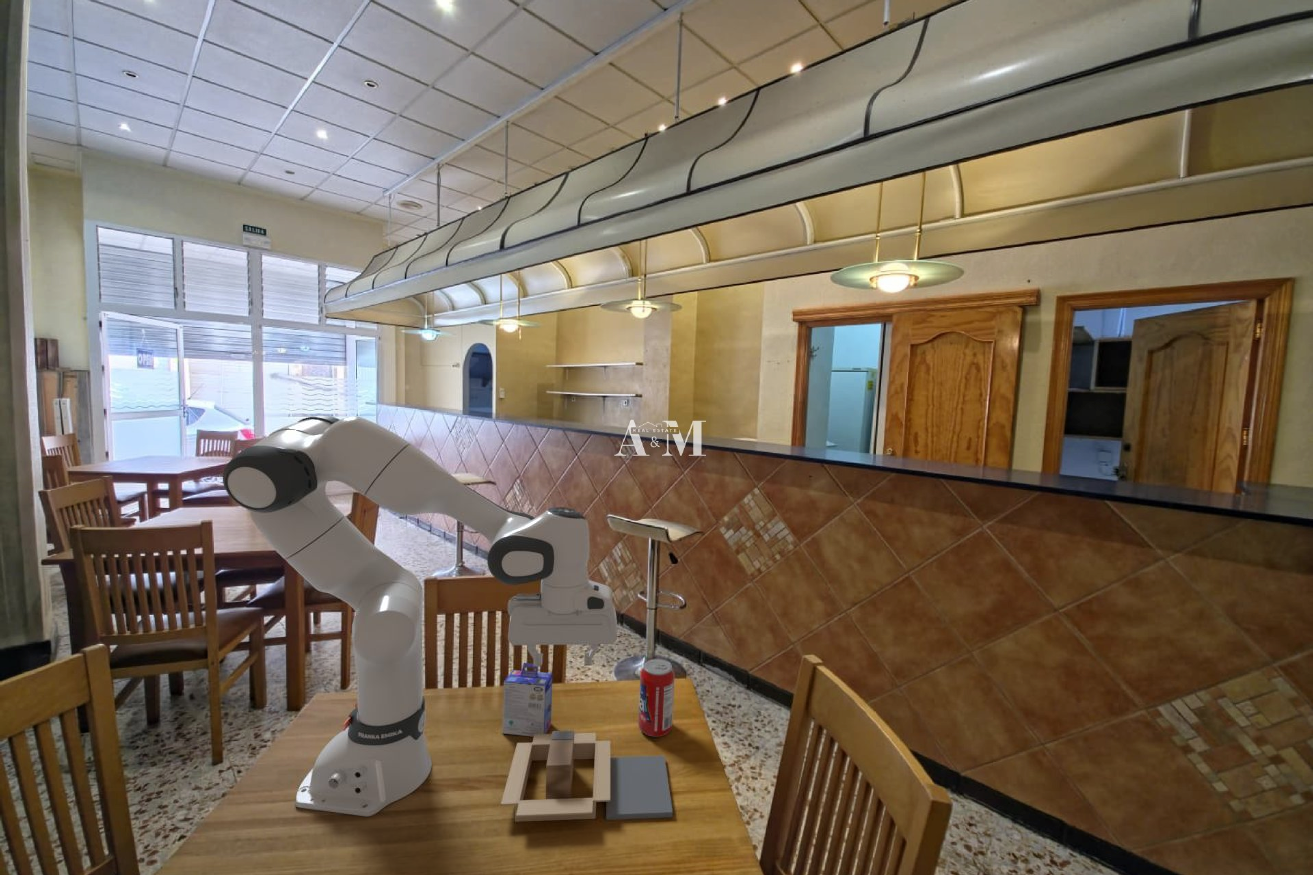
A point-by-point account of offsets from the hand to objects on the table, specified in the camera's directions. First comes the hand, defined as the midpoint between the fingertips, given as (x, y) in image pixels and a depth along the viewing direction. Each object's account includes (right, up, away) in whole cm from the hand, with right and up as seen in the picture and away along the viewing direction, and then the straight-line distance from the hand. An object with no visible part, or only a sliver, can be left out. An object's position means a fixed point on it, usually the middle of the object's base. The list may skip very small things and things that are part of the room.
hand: (563, 664), depth 93 cm
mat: (+14, -25, +3) cm, 29 cm away
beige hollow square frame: (-1, -25, +2) cm, 25 cm away
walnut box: (-1, -25, +2) cm, 25 cm away
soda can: (+17, -24, +20) cm, 36 cm away
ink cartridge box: (-12, -23, +18) cm, 32 cm away
